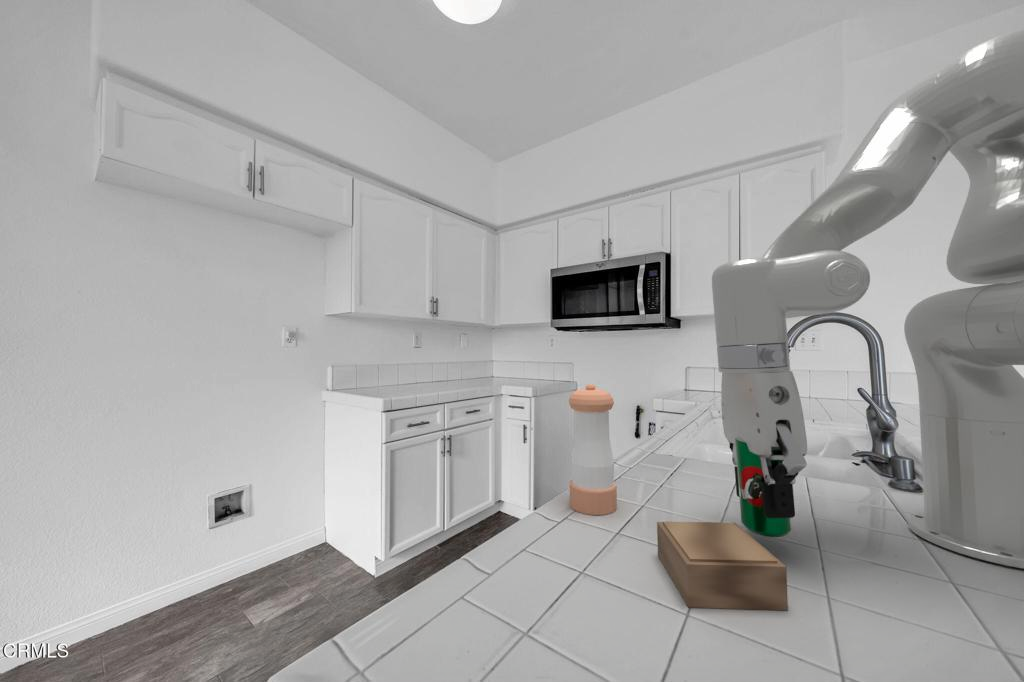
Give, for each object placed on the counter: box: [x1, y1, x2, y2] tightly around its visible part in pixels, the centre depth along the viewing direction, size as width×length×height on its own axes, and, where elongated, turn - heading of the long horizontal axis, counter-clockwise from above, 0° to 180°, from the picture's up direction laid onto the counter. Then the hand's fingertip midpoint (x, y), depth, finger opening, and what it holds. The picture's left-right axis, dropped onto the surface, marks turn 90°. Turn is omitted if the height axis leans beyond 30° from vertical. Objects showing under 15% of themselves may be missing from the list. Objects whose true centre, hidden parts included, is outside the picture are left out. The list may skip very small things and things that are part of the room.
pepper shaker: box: [568, 383, 618, 516], centre depth 59 cm, size 7×7×19 cm
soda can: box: [735, 437, 792, 538], centre depth 46 cm, size 5×5×12 cm
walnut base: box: [656, 521, 789, 611], centre depth 40 cm, size 9×9×4 cm
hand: (763, 504), depth 46 cm, fingers closed on soda can, 5 cm apart
